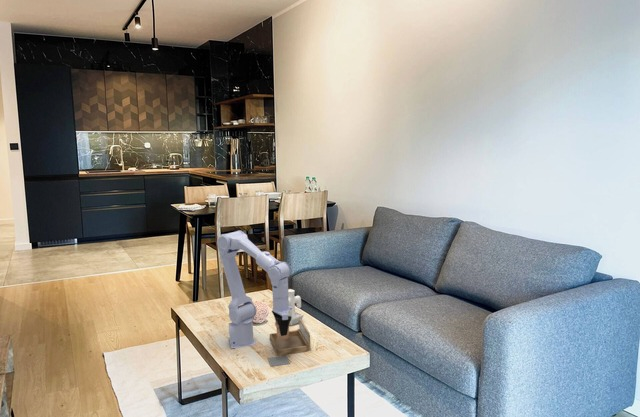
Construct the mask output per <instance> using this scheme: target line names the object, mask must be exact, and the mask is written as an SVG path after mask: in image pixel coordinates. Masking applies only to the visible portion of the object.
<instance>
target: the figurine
mask: <svg viewBox="0 0 640 417" xmlns="http://www.w3.org/2000/svg"><path fill="white" fill-rule="evenodd" d="M288 296H289V306H292V309H291V310H289V312H288V316H291V317H292V319H291V321H290V326H294V325H299V318H301V320H302V321H303V318H304V314H301V313H299V312H296V308H298V309H301V308H302V298H301V296H300V295H295V290H294V289H292V288H288ZM295 304H296V305H295Z"/></svg>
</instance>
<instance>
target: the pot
mask: <svg viewBox="0 0 640 417" xmlns="http://www.w3.org/2000/svg"><path fill="white" fill-rule="evenodd" d="M274 324H275V325H274V326H275V327H276V333H277V338H278V339H280V340H285V339H288V338H289V337H290V335H289V331H290V326H291V325H290V323H289V326H288V332H287V335H285V336H281V334H280V330H279V325H278V322H277V321H276V320H275V322H274Z"/></svg>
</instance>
